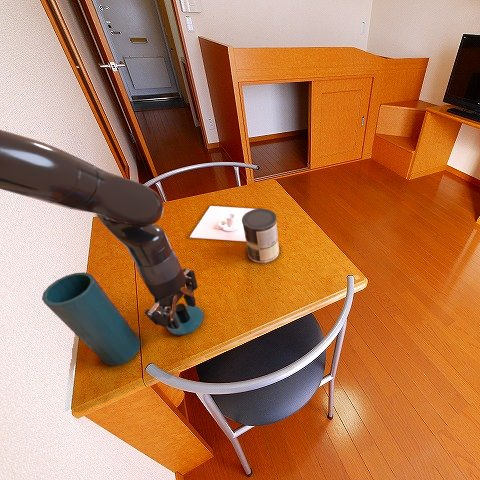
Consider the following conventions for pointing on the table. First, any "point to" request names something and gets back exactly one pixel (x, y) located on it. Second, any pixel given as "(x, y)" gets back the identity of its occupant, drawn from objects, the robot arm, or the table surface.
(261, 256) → the coffee can
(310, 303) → the table surface
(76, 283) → the tin
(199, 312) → the lid
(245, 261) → the table surface
